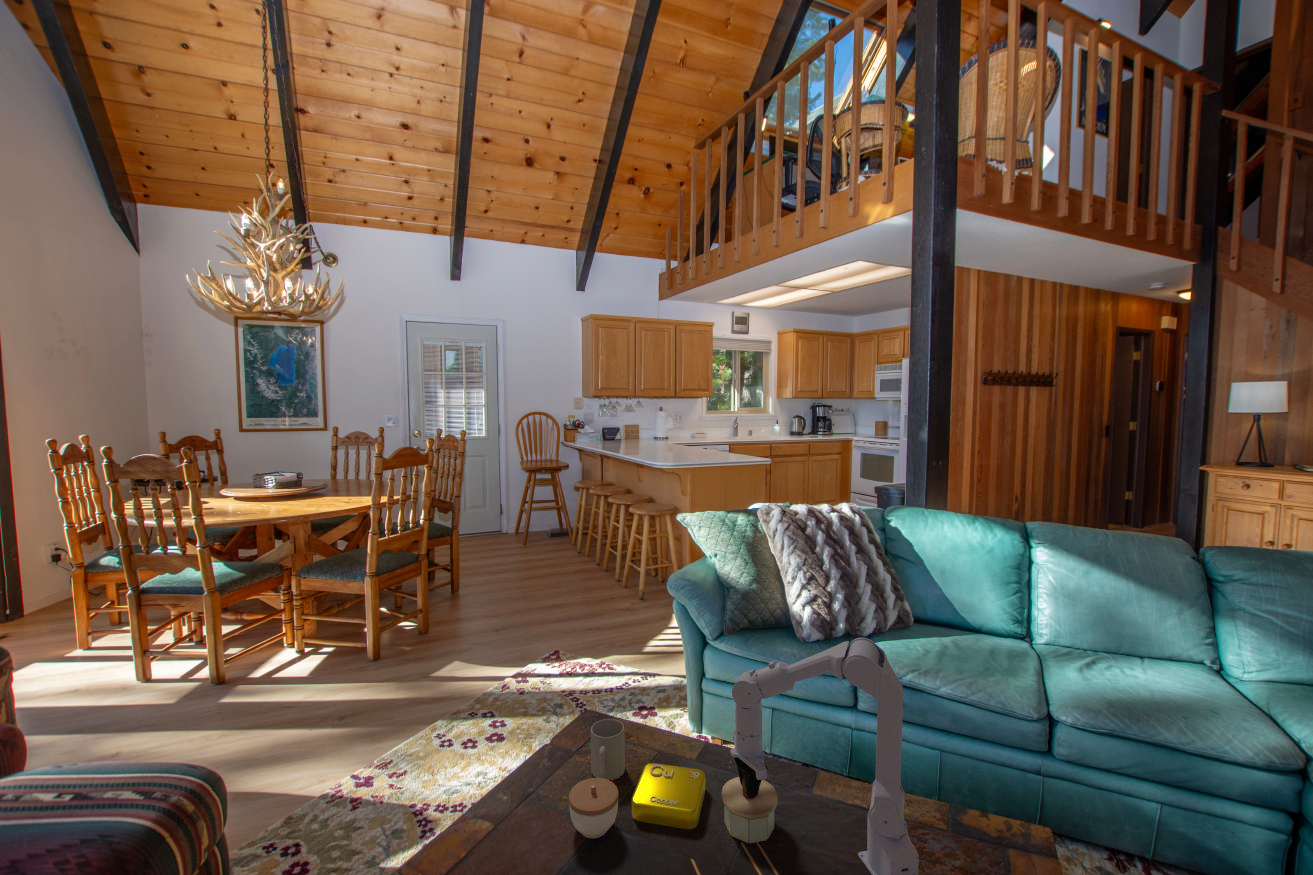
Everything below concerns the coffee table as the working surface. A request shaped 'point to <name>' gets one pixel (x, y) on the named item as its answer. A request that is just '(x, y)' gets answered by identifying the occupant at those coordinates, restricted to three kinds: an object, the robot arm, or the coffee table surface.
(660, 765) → the element tile
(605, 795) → the lidded jar
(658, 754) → the coffee table surface
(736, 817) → the bowl
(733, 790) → the lid
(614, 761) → the mug
